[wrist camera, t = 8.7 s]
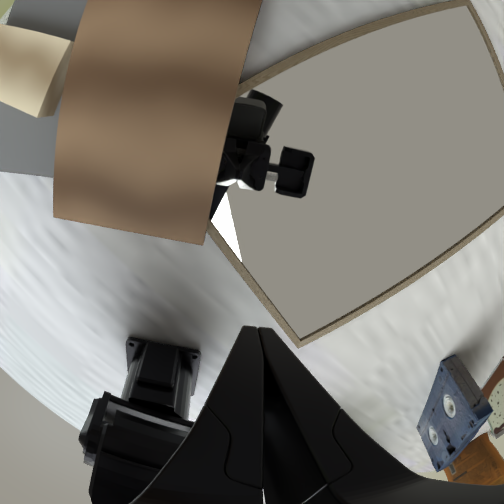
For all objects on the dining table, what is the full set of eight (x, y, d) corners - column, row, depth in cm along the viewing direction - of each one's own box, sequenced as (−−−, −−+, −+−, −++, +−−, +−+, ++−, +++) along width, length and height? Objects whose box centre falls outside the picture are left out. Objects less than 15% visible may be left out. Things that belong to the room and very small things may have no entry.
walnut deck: (206, 229, 19) (203, 245, 17) (70, 204, 18) (53, 217, 16) (264, -5, 13) (268, -21, 10) (113, -16, 11) (99, -29, 9)
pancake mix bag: (433, 463, 52) (461, 539, 27) (491, 425, 48) (526, 496, 23) (435, 466, 54) (461, 537, 29) (489, 431, 50) (521, 498, 25)
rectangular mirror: (461, -1, 12) (149, 147, 17) (468, -2, 11) (145, 148, 16) (522, 188, 20) (295, 340, 25) (529, 191, 19) (298, 348, 24)
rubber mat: (71, 177, 17) (67, 179, 16) (-11, 168, 16) (-16, 169, 15) (113, -16, 11) (110, -19, 11) (18, 1, 10) (14, 0, 9)
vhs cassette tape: (428, 421, 36) (449, 466, 27) (413, 428, 36) (433, 474, 28) (458, 350, 28) (497, 408, 19) (440, 359, 28) (478, 420, 19)
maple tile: (53, 115, 14) (36, 117, 13) (-18, 85, 12) (-34, 86, 10) (85, 45, 13) (70, 40, 11) (7, 25, 10) (-9, 22, 8)
